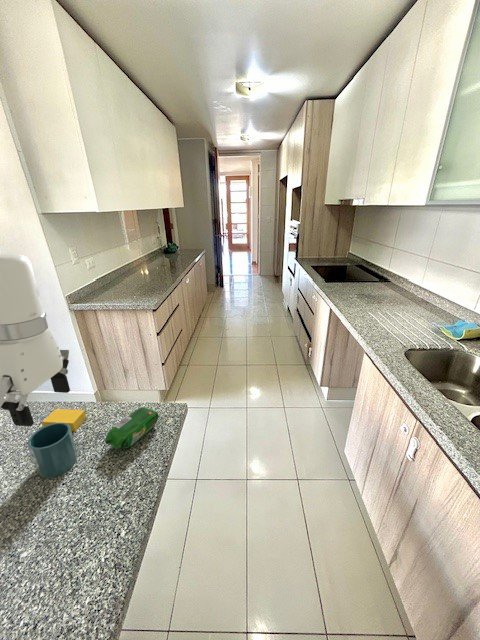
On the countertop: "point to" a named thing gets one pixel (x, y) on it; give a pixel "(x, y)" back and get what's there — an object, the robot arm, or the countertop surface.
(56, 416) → the yellow flat block
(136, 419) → the snack package
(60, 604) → the countertop surface
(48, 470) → the cup
